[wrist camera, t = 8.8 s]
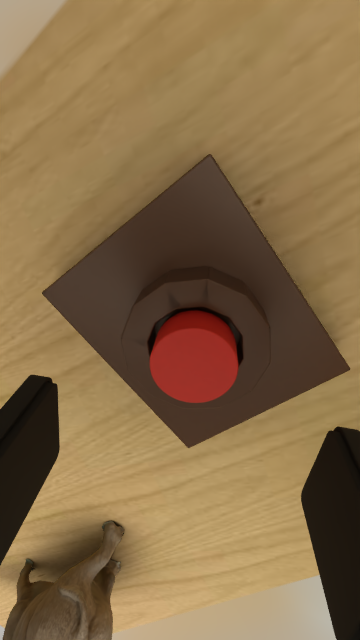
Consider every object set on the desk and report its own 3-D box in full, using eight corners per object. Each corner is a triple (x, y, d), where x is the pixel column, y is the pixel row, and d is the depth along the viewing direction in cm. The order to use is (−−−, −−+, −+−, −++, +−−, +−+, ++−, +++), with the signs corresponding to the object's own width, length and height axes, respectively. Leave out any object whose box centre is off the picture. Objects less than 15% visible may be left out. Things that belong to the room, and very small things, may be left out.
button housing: (59, 278, 18) (21, 308, 15) (210, 154, 15) (209, 152, 11) (190, 422, 22) (185, 474, 18) (336, 347, 18) (366, 393, 15)
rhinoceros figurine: (191, 596, 26) (23, 896, 17) (115, 536, 37) (-10, 702, 28) (132, 529, 24) (-87, 826, 16) (71, 487, 35) (-77, 648, 26)
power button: (139, 337, 15) (131, 358, 14) (204, 294, 14) (203, 311, 12) (187, 391, 16) (184, 416, 15) (251, 355, 15) (256, 378, 13)
